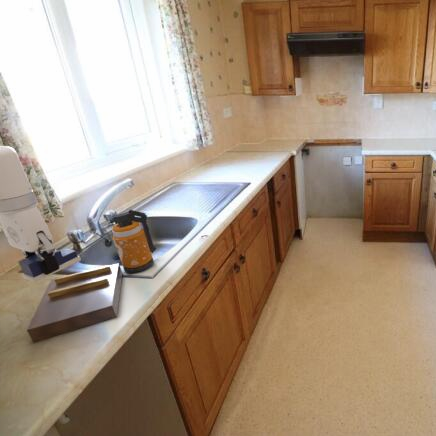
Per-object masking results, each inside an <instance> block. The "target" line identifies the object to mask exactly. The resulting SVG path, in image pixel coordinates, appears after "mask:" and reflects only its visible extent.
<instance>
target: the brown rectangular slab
mask: <svg viewBox="0 0 436 436" xmlns="http://www.w3.org/2000/svg"><path fill="white" fill-rule="evenodd" d="M122 279H123V271H122V268H121V265H120V263H119V262H118V263H114V264H107V265H104V266H100V267H95V268H91V269H87V270H84V271H83V270H82V271H80V272H75V273H72V274H66V275H63V276H59V277H55V278H53V279H50V281H49V282H48V285H47V287H46V289H45V291H44V293H43V296H42V297H41V300H40V301H39V303H38V305H37V308H36V310H35V313H33V316H32V318H31V320H30V322H29V324H28V326H27V329H26V332H27V333H28V335H29V337H30V338H31V340H32V342H33V343H37V342H39V341H42V340H46V339H49V338H53V337H56V336H59V335H63V334H66V333H69V332H73V331H76V330H80V329H83V328H85V327H89V326H92V325H96V324H99V323H101V322H106V321H109V320H112V319H116V318H118V312H119V310H118V309H119V305H120V304H119V302H120V295H121V287H122Z"/></svg>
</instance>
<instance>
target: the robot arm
mask: <svg viewBox="0 0 436 436" xmlns="http://www.w3.org/2000/svg"><path fill="white" fill-rule="evenodd" d="M34 192H35V191H34V190H33V188H32V185H31V182H30V180H29V177H28V176H27V174H26V171H25V168H24V167H23V164H22V162H21V159H20V157H19V155H18V153H17V151H16V150H15V148H13V147H11V146H8V145H0V226H1V229H2V230H3V233H4V235H5V238H6V240H7V243H8V244H9V245H10V246H11V247H12V248H15V249H18V250H21V253H22V255H23V256H24V259H25V258H27V257H30V256H32V255H35V254H36V255H37V256H38V258H39V261H38V262H39V264H40V266H41V268H42V271H43V273H44V274H45V275H48V274H50V273H52V272H54V271H56V270H58V269H59V265H58V263H57V261H56V258H55V254H54V250H55V249H56V248H55V246H54V245H53V244H54V238H53V235H52V232H51V231H50V229H49V226H48V224H47V223H46V220H45V218H44V216H43V215H42V213H41V211H40V210H39V208H38V205H39V201H38V199H37V197H36V195H35V193H34ZM40 245H41V246H40ZM44 250H45V251H44ZM42 251H43V252H42ZM41 252H42V254H41Z"/></svg>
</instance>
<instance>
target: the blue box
mask: <svg viewBox="0 0 436 436" xmlns="http://www.w3.org/2000/svg"><path fill="white" fill-rule="evenodd" d="M43 251H45V249H43V250H41V254H42V252H43ZM54 254H55V258H56V261H57V263H58V265H59V269H58V270H56V271H54V272H52V273H50V274H48V275H45V274H44V273H43V271H42V268H41V266H40V264H39V262H38V261H39V258H38V256H37V255H36V254H35V255H32V256H30V257H27V258H25V257H24V258H23V259H21V260H18V261H17V263H18V265H19V266H20V269H21V271H22V272H23V274H21V277H22V279H23V280H25V281H27V282H31V283H34V284H35V283H37V282H40V281H41V280H44V279H46V278H47V277H50V276H52V275H53V274H55V273H58V272H60V271H61V270H64V269H67V268H68V267H70V266H72V265H74V264H76V263H78V262H81V261H82V259H81V256H80V255H78V253H77V250H74V249H70V248H66V247H65V248H63V249H62V250H59V249H56V248H55V250H54Z"/></svg>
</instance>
